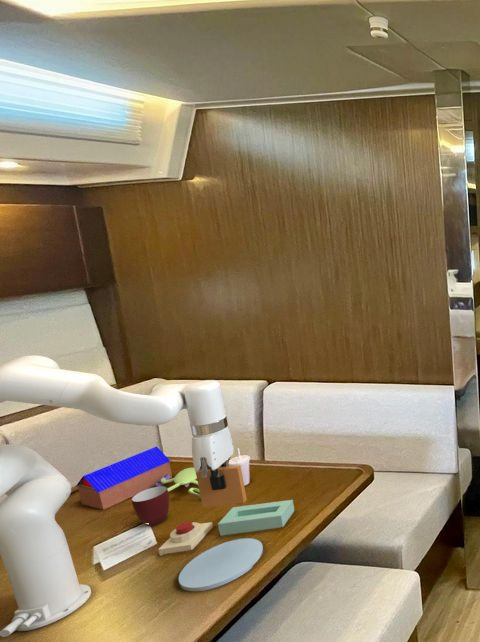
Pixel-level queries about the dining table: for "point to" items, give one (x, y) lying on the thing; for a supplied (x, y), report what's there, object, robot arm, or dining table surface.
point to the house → (123, 479)
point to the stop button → (184, 528)
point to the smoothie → (242, 465)
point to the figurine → (181, 480)
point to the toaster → (256, 517)
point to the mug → (152, 505)
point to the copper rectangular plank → (226, 496)
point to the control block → (185, 539)
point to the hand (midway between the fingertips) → (221, 486)
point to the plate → (220, 564)
